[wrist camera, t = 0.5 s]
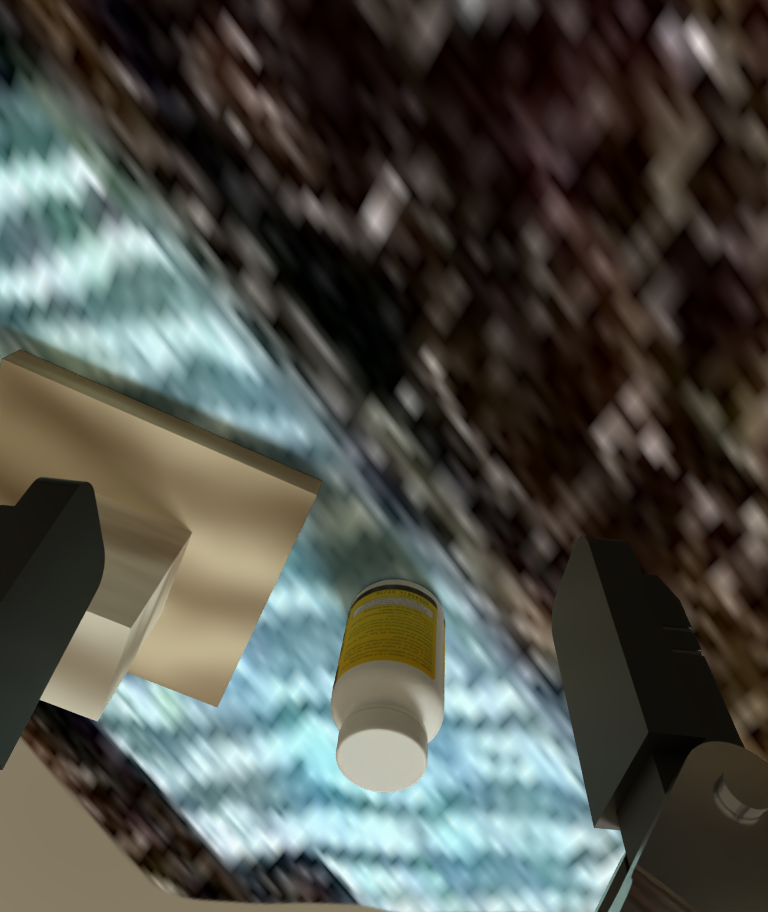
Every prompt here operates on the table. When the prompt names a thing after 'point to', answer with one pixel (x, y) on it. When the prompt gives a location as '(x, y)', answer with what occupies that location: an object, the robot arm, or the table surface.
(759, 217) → the table surface
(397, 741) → the supplement bottle
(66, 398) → the pedestal
